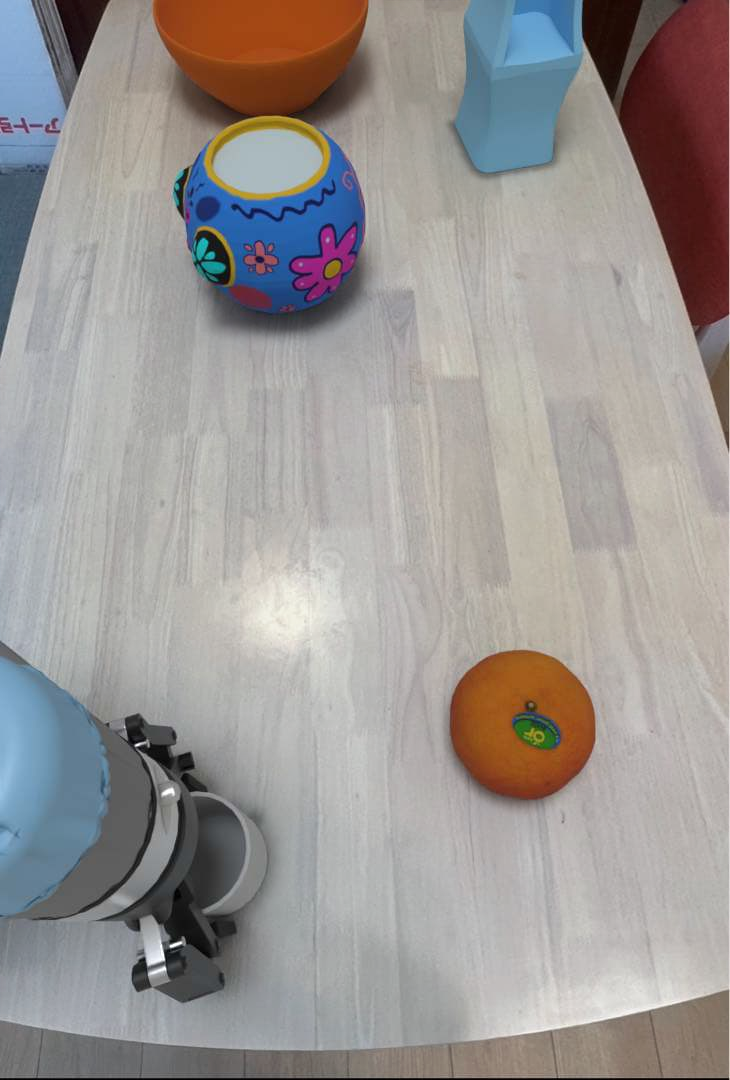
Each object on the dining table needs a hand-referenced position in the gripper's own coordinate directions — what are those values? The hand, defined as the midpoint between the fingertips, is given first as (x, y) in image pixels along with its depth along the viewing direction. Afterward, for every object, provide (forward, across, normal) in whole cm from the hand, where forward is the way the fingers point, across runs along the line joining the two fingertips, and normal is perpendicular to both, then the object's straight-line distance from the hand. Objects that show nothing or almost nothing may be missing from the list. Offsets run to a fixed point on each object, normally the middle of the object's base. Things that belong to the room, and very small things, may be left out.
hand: (202, 863), depth 54 cm
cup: (0, 0, 0) cm, 0 cm away
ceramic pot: (0, +54, -20) cm, 57 cm away
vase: (+1, +68, -51) cm, 85 cm away
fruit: (+1, +2, -25) cm, 25 cm away
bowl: (0, +88, -27) cm, 92 cm away
